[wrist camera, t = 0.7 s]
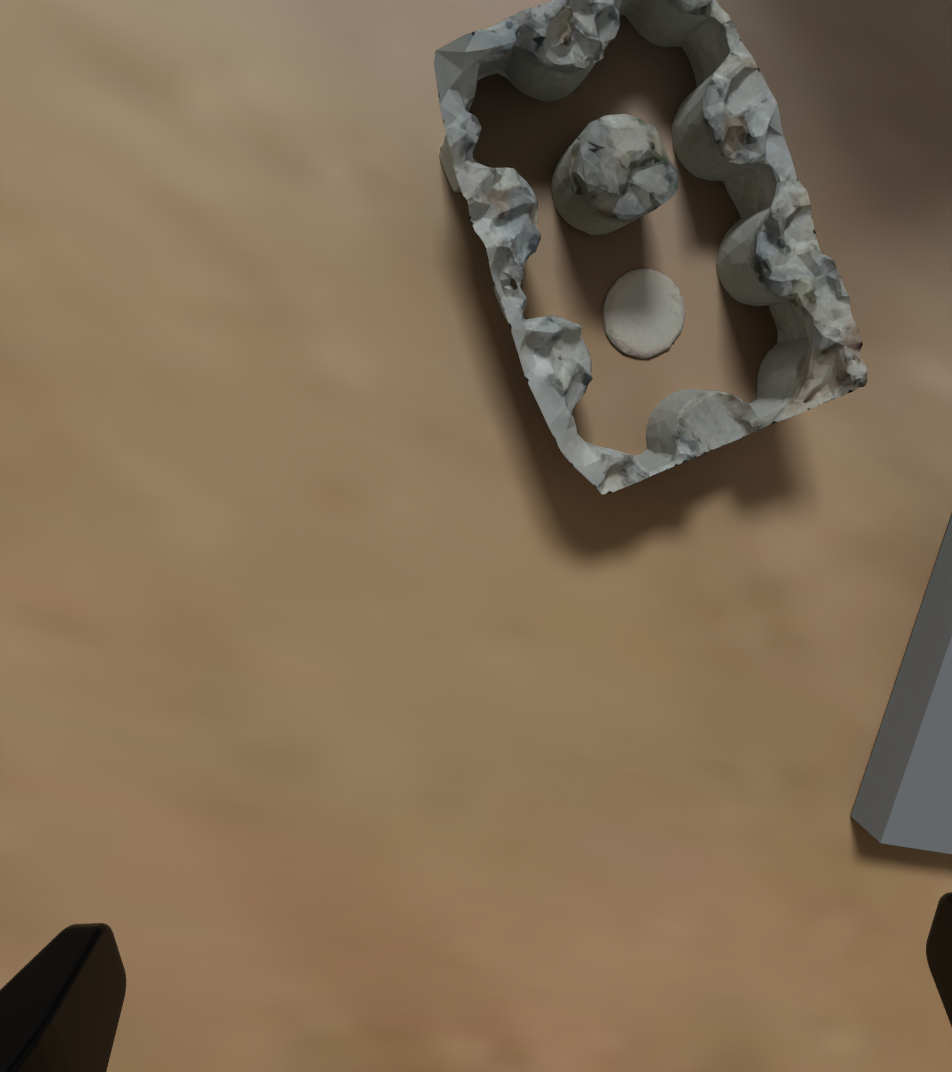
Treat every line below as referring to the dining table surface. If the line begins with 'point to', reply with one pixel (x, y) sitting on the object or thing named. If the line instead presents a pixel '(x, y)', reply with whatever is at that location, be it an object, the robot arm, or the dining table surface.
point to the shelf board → (917, 733)
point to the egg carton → (633, 191)
